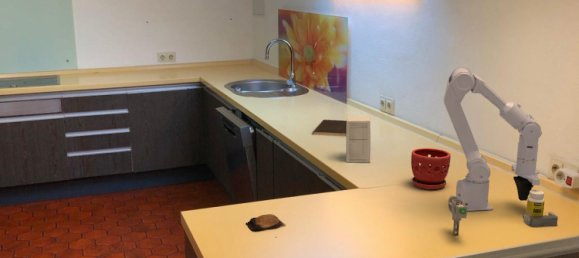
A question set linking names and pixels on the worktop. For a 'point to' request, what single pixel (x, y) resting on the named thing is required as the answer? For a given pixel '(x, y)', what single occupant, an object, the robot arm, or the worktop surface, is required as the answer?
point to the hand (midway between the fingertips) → (522, 199)
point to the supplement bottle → (535, 203)
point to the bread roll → (264, 223)
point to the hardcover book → (331, 128)
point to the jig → (541, 220)
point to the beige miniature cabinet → (358, 139)
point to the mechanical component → (457, 212)
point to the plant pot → (430, 167)
